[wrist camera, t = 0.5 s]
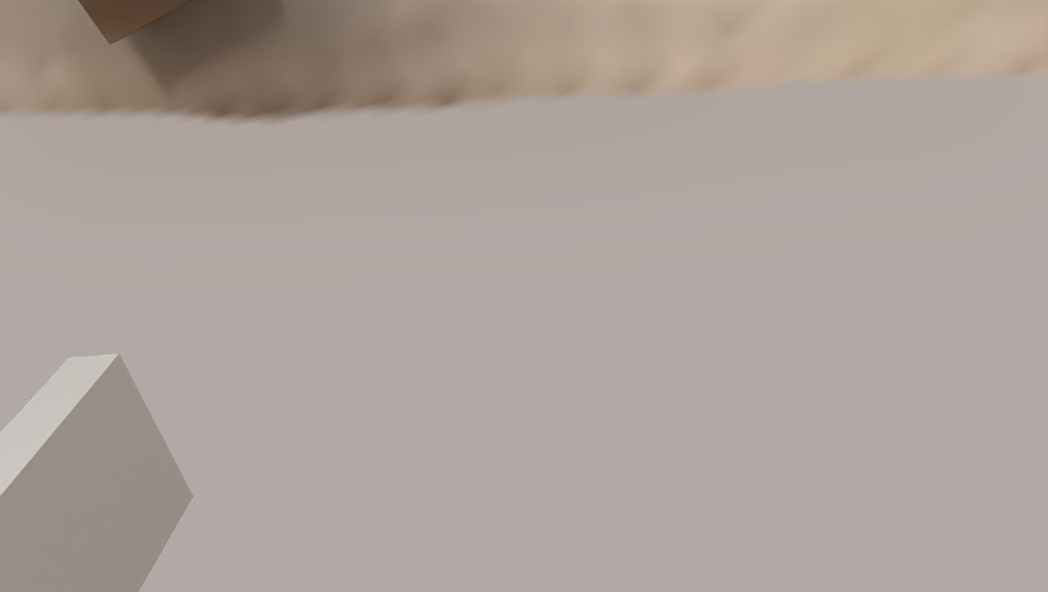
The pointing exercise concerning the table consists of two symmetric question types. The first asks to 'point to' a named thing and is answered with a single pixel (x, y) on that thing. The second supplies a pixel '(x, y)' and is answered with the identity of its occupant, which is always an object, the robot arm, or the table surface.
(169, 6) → the brown flat bar
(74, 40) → the table surface
